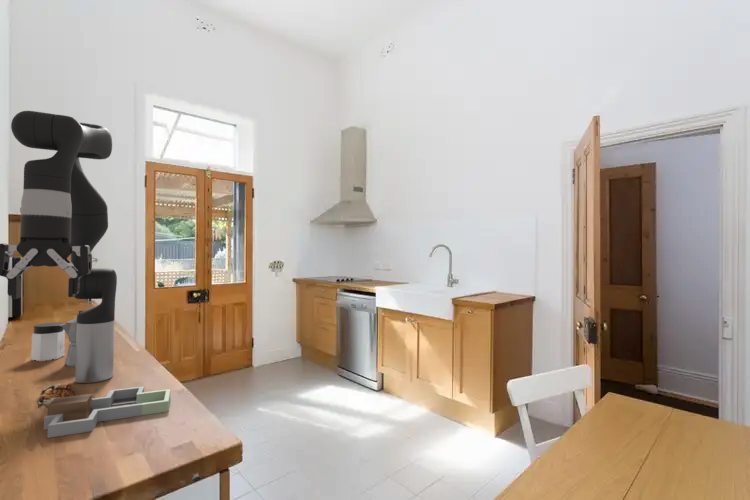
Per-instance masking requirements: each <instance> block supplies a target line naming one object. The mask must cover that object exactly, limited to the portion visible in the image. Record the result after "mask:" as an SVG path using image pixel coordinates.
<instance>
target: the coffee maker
mask: <svg viewBox="0 0 750 500" xmlns="http://www.w3.org/2000/svg"><path fill="white" fill-rule="evenodd" d="M83 311H84V310H78V314H79V313H80V312H83ZM59 326H62V328H63V329H64V330H65V334H66V335H67V337H68V342H70V344H69V345H68V349H67V352H66V357H65V362H64V366H66V365H67V367H69V366H71V367H76V329H77V318H74V319H71V320H67V322H66V323H63V324H62V325H59Z"/></svg>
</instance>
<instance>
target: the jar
mask: <svg viewBox="0 0 750 500" xmlns="http://www.w3.org/2000/svg"><path fill="white" fill-rule="evenodd" d="M62 324H64V323H63V322H47V323H39V324H35V325H33V332H32V333H31V350H30V351H31V355H30V356H31V358H30V359H31V361H34V360H36V361H37V362H46V360H47V361H52V359H54V360H59V359H60V358H63V357H65V348H66V347H65V345H66V344H65V343H66V340H65V339H66V332H65V330H64V329H63V328H62V326H59V325H62ZM62 356H63V357H62ZM36 361H35V362H36Z"/></svg>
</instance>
